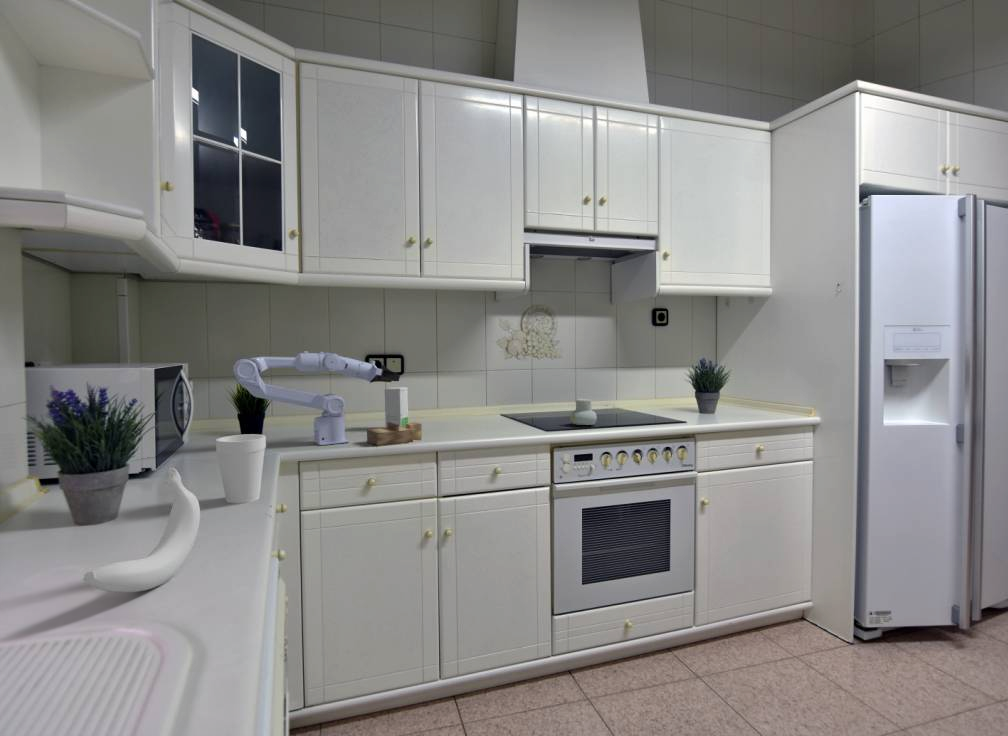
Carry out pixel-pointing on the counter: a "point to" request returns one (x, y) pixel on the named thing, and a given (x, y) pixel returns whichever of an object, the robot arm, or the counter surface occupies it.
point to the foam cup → (241, 466)
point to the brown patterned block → (415, 430)
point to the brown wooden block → (389, 437)
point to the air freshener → (583, 413)
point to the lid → (390, 428)
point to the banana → (166, 553)
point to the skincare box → (396, 406)
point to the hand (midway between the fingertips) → (395, 378)
